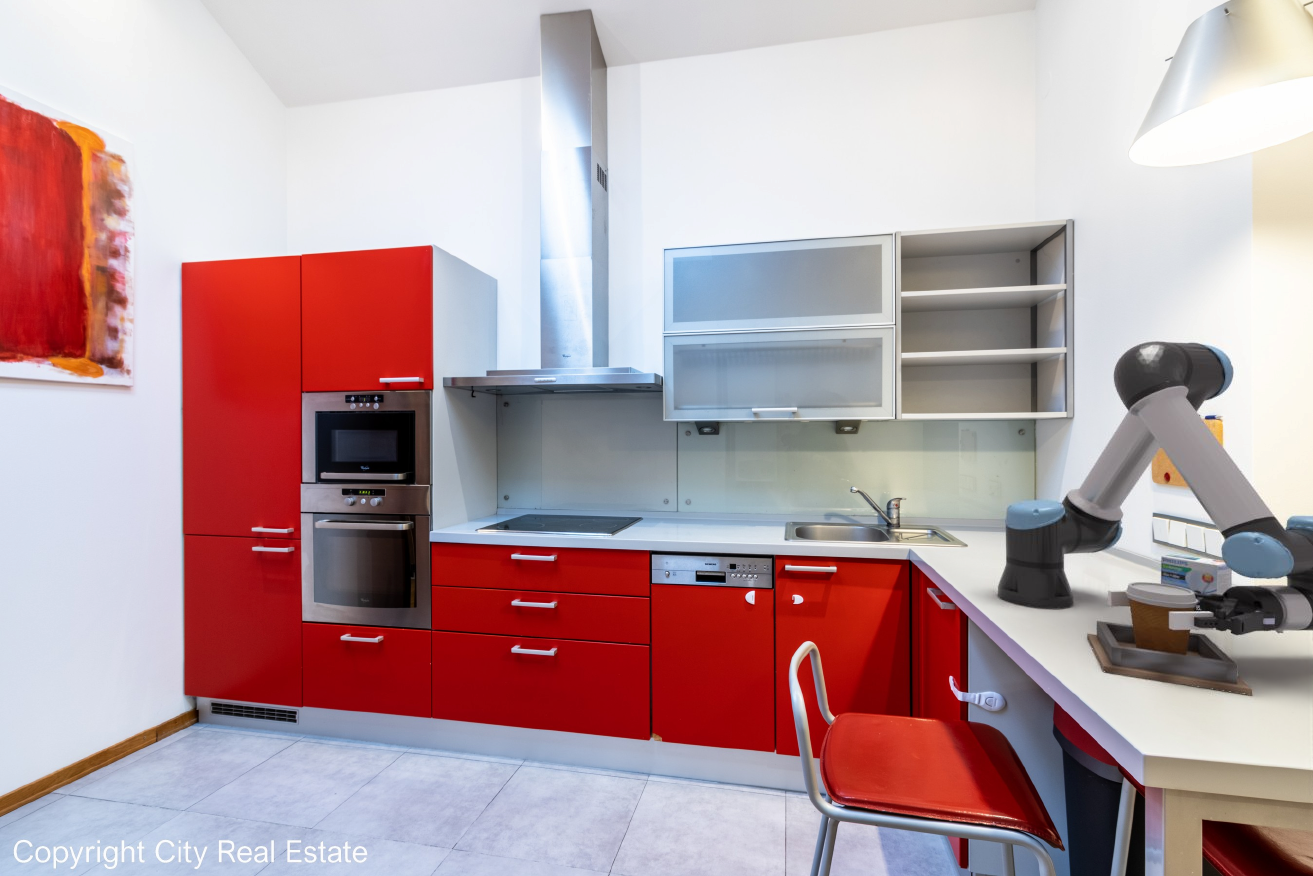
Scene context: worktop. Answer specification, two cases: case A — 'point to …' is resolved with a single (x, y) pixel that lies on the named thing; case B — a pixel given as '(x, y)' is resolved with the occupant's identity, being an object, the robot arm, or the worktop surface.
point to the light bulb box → (1196, 574)
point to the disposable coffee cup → (1159, 615)
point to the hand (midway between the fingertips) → (1138, 608)
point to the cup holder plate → (1166, 660)
